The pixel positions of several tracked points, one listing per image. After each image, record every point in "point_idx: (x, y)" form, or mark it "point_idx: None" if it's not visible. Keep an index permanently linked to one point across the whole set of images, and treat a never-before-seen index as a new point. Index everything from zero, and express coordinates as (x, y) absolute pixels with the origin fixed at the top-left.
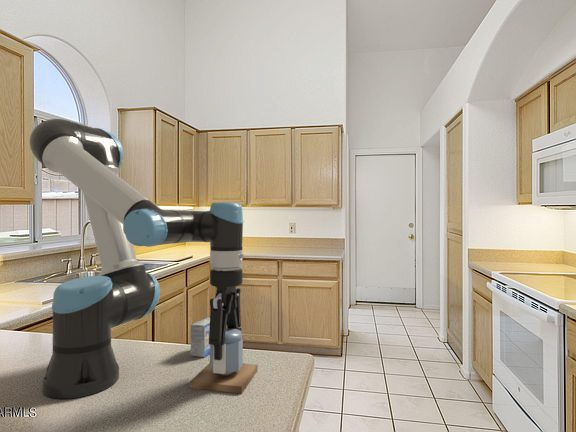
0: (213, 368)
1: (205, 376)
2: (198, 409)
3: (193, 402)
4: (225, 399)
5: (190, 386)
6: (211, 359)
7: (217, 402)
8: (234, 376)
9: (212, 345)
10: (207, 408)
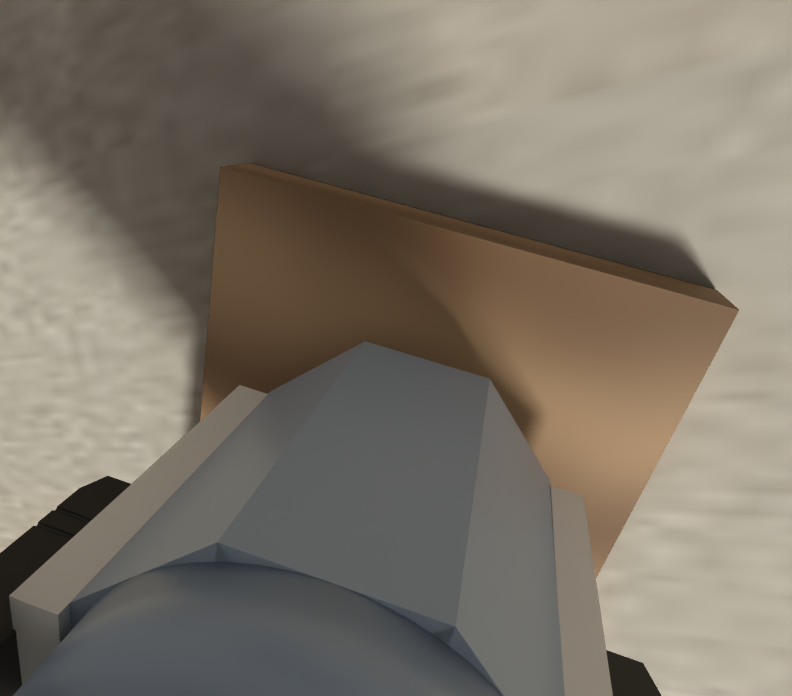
0: (219, 406)
1: (321, 290)
2: (5, 282)
3: (65, 235)
4: (138, 423)
5: (245, 165)
6: (293, 406)
7: (98, 382)
8: None
9: (166, 535)
10: (28, 332)
